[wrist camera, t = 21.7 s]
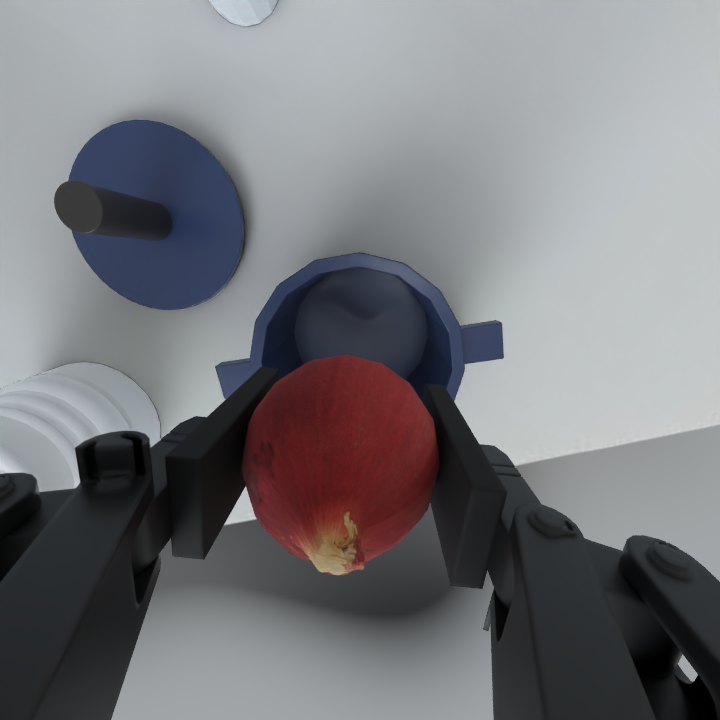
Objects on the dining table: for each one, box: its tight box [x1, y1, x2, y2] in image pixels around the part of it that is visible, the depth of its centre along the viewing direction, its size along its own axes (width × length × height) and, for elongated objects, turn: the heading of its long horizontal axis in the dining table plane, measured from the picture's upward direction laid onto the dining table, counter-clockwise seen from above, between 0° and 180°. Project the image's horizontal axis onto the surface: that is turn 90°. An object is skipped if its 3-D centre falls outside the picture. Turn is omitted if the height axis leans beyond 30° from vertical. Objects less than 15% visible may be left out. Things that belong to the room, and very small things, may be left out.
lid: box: [54, 120, 244, 310], centre depth 25 cm, size 15×15×9 cm
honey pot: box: [0, 362, 160, 492], centre depth 26 cm, size 13×13×18 cm
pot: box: [215, 253, 504, 402], centre depth 26 cm, size 14×19×10 cm
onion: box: [242, 354, 440, 575], centre depth 10 cm, size 6×6×8 cm
